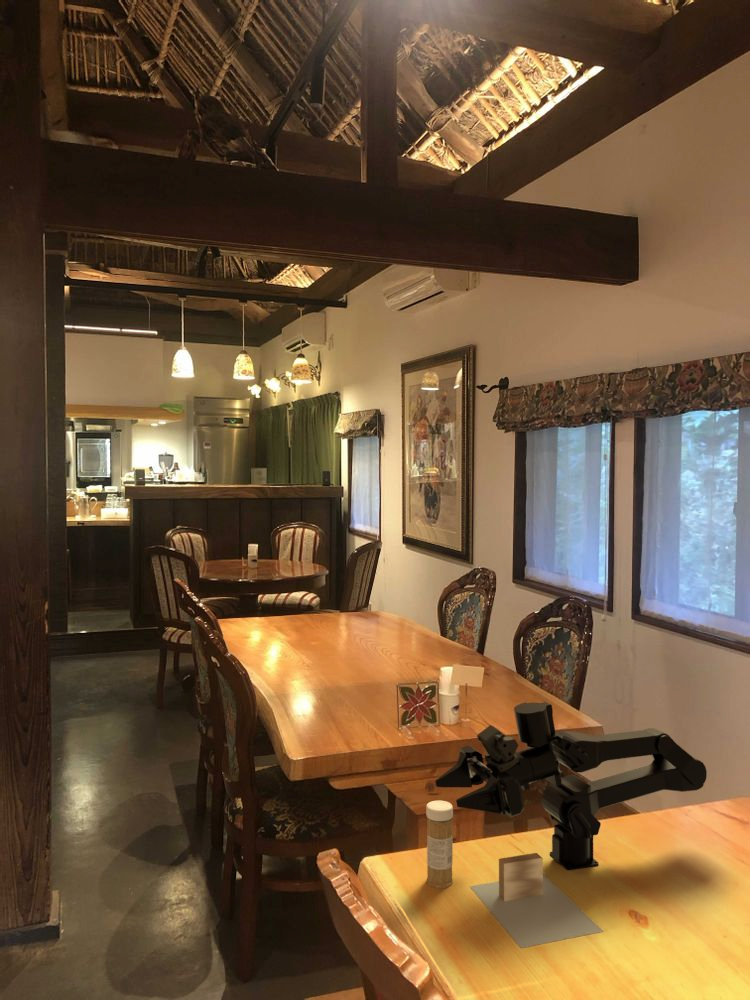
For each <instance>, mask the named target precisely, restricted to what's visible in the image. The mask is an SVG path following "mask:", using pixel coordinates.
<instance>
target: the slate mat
mask: <svg viewBox="0 0 750 1000" xmlns="http://www.w3.org/2000/svg"><path fill="white" fill-rule="evenodd" d="M469 888H470V889H471V891H473V892H474V894H475V895H476V896H477V898H478V899H479V900H480V901H481V902H482V903H483V905H484V906H485V907H486V908H487V909H488V910H489V912H490V913H491V914H492V915H493V917H494V918H495V919H496V920H497V922H498V923H499V924H500V925H501V926H502V927H503V929H504V930H505V931H506V932H507V933H508V935H509V936H510V937H511V938H512V939H513V941H515V943H516V944H517V946H518V947H519V948H520V949H524V948H528V947H529V948H530V947H534V946H538V945H539V946H540V945H543V944H548V943H553V942H558V941H563V940H569V939H574V938H578V937H584V936H589V935H594V934H599V933H604V932H605V931H604V930H603V929H602V928H601V927H600V926H599V925H598V924H597V923H596V922H594V921H593V920H592V918H590V916H588V915H587V914H586V913H585V911H583V910H582V909H581V908H580V907H579V906H578V905H577V904H576V903H575V902H574V901H572V900H571V899H570V898H569V897H568V896H567V895H566V894H565V893H564V892H563V890H561V889H560V888H559V887H558V886H556V885H555V884H554V883H553V881H551V880H550V879H549V878H548V877H547V876H546V875H545V874H544V873H543V895H537V896H532V897H526V898H521V899H515V900H509V901H504V900H503V899H502V898H501V897H500V896H499V880H498V881H493V882H487V883H480V884H475V885H469Z"/></svg>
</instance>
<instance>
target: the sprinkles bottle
mask: <svg viewBox="0 0 750 1000" xmlns="http://www.w3.org/2000/svg"><path fill="white" fill-rule="evenodd" d="M425 810H426V811H425V812H426V814H425V816H426V820H427V821H426V822H427V823H426V830H427V831H426V836H427V837H426V865H427V868H426V869H427V870H426V874H427V878H426V883H427V884H428V885H429V886H430V887H432V888H436V889H446V888H449V887H451V886H452V885H453V883H454V880H453V863H454V862H453V856H454V855H453V846H454V845H453V817H454V807H453V805H452V803H450V802H449V801H446V800H440V799H439V800H432V801H429V802H428V803H427V804H426V808H425Z"/></svg>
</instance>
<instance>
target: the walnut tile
mask: <svg viewBox="0 0 750 1000" xmlns="http://www.w3.org/2000/svg"><path fill="white" fill-rule="evenodd" d="M543 860H544V858H543V857H542V856H541V855H540V854H539V853H538V852H533V853H527V854H521V855H513V856H508V857H501V858H498V881H499V896H500V897H501V898H502V899H503V900H504V901H509V900H515V899H521V898H526V897H532V896H537V895H543V874H544V872H543V871H544V868H543V867H544V863H543V862H544V861H543Z"/></svg>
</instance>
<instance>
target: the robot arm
mask: <svg viewBox="0 0 750 1000" xmlns="http://www.w3.org/2000/svg"><path fill="white" fill-rule="evenodd" d="M513 712H514V717H515V724H516V731H517V734H518V740H519V741H520V742H521V743H524V744H525V746H526V747H527V748H524V749H521V750H518V751H517V749H518V748H519V743H518V742H517V740H516V739H515V738H514V737H512V736H511V735H510V736H505V734H504V733H502V732H501V730H500V729H498V728H496V727H495V726H493V725H491V724H490V725H489V726H487V727H486V728H485V729H483V730H482V731H480V732H479V733H478V734H477V735H476V738H477V740H479V741H480V743H481V744H482V746H483V748H484V750H485V752H486V753H485V754H484V758H483V753H482V752H480V751H478V750H477V749H475V748H474V747H473V746H471V745H465V746H462V747H459V753H458V759H457V762H456V763H455V764H454V765H453V766H452V767H451V768H450V769H448V770H447V771H446V772H445V773H443V774H442V775H441V776H439V777H438V778H436V779H435V781H434V784H435V787H436V788H473V786H479V785H482V784H484V782H485V785H484V786H482V787H479V788H478V789H475V790H473V791H471V792H469V793H467V794H464V795H462V796H460V797H459V798H457V799H456V800H455V804H456V807H457V808H463V809H469V810H475V811H477V810H478V811H480V812H481V811H482V812H486V813H487V812H489V813H493V814H498V815H501V816H506V815H507V816H508V817H509V818H510V819H511V818H514V817H517V816H519V815H520V816H521V814H522V812H523V811H524V808H525V803H524V799H523V793H522V790H523V791H528V790H530V789H531V787H530V784H532V783H535V782H539V781H542V780H544V779H546V780H547V781H548V782H549V784H547V785H546V786H545V789H543V790H544V791H543V792H542V795H541V804H542V807H543V809H544V811H546V812H547V813H548V815H549V818H550V819H551V821H554V822H555V823H557V824H554V826H553V831H554V832H553V834H552V835H551V851H549V856H550V857H551V858H552V859H554V860H555V861H556V862H557V863H558V864H559V865H560V866H562V867H563V868H564V869H565V870H567V871H574V870H580V869H582V870H583V869H586V868H587V869H588V868H593V867H598V866H599V861H597V860H596V859H595V858H594V836H598V835H599V832H600V828H601V822H600V821H599V819H597V817H595V816H596V814H597V813H598V811H599V810H601V809H604V808H608V807H611V806H614V805H617V804H620V803H623V802H628V801H631V800H634V799H637V798H640V797H643V796H647V795H651V794H654V793H657V792H660V791H673V792H681V793H683V792H694V791H695V792H696V791H699V790H701V789H702V788H703V787H704V786H705V782H706V780H707V777H708V776H707V768H706V765H705V764H704V762H702V761H701V760H699V759H698V758H695V757H693V756H692V755H691V754H689V752H687V751H686V750H685V749H684V748H682V747H681V746H680V745H679V744H678V743H676V741H674V739H673V738H672V737H671V736H670V734H668V733H666V732H664V731H661V730H659V729H656V728H654V727H651V728H649V727H648V728H645V729H641V730H633V731H625V732H624V731H623V732H616V733H607V734H606V733H605V734H597V735H596V734H588V733H583V732H579V731H568V730H563V731H556V728H555V723H554V716H553V714H554V710H553V705H552V704H551V703H549V702H547V701H543V702H521V703H519V704H517V705H515V706H514V708H513ZM646 756H651V757H652V759H653V760H652V761H651V763H650V764H648V765H645V766H642V767H638V768H634V769H631V770H627V771H624V772H620V773H617V774H614V775H611V776H606V777H602V778H600V779H596V780H592V781H588V782H586V781H584V780H583V779H581V778H580V777H578V776H577V775H575V774H568V775H566V776H565V772H564V771H562V770H560V765H559V764H561V765H563V766H565V767H566V768H568V769H570V770H571V771H573V772H575V773H580V774H581V773H585V772H587V771H591V770H593V769H596V768H598V767H599V766H600V765H601V764H602V763H604V762H607V761H608V762H609V761H613V760H621V759H622V760H623V759H630V758H631V759H632V758H637V757H638V758H639V757H646ZM484 760H485V762H486V764H484Z"/></svg>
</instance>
